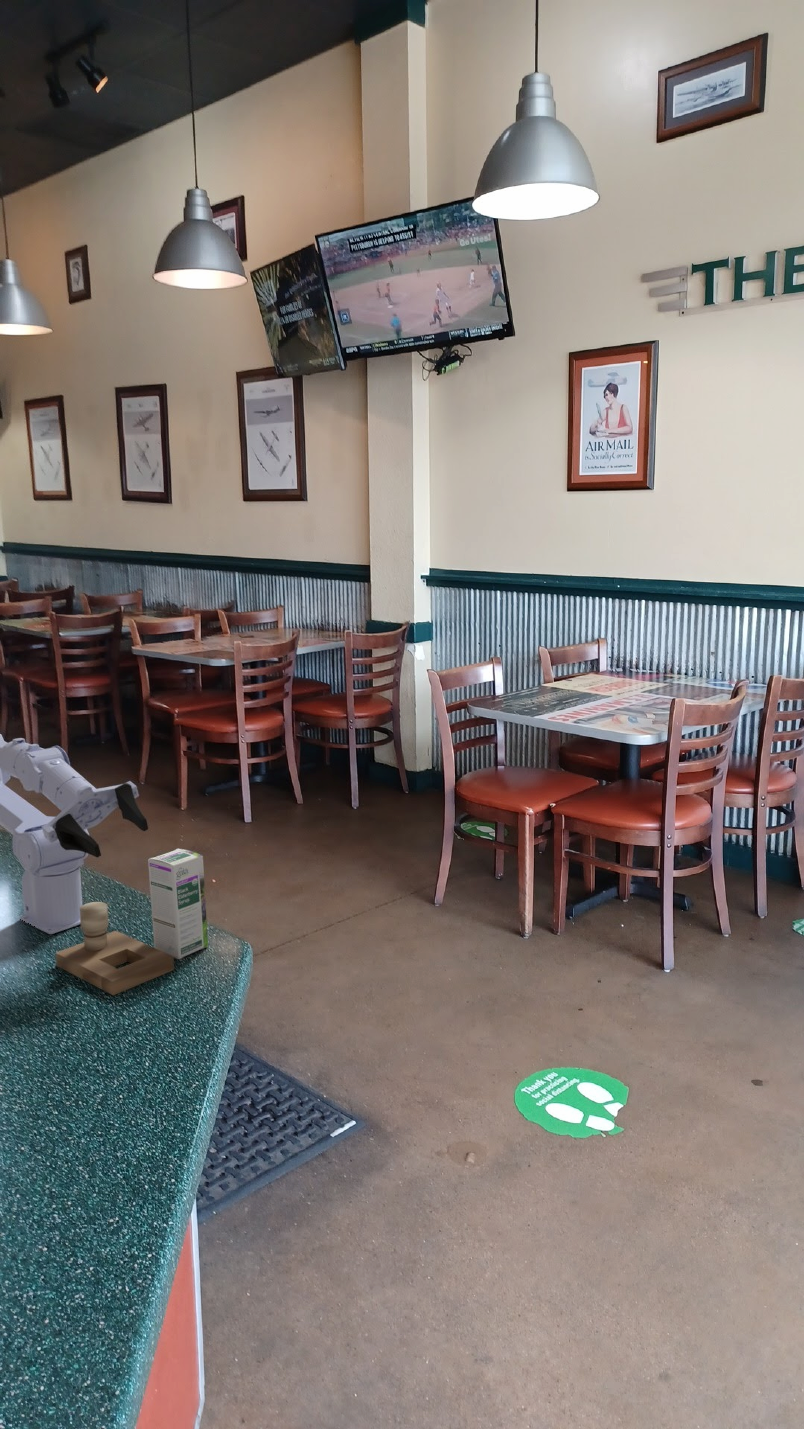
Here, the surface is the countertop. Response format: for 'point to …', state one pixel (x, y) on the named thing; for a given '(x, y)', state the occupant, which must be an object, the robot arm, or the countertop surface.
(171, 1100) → the countertop surface
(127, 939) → the board
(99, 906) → the peg
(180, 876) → the syrup box
